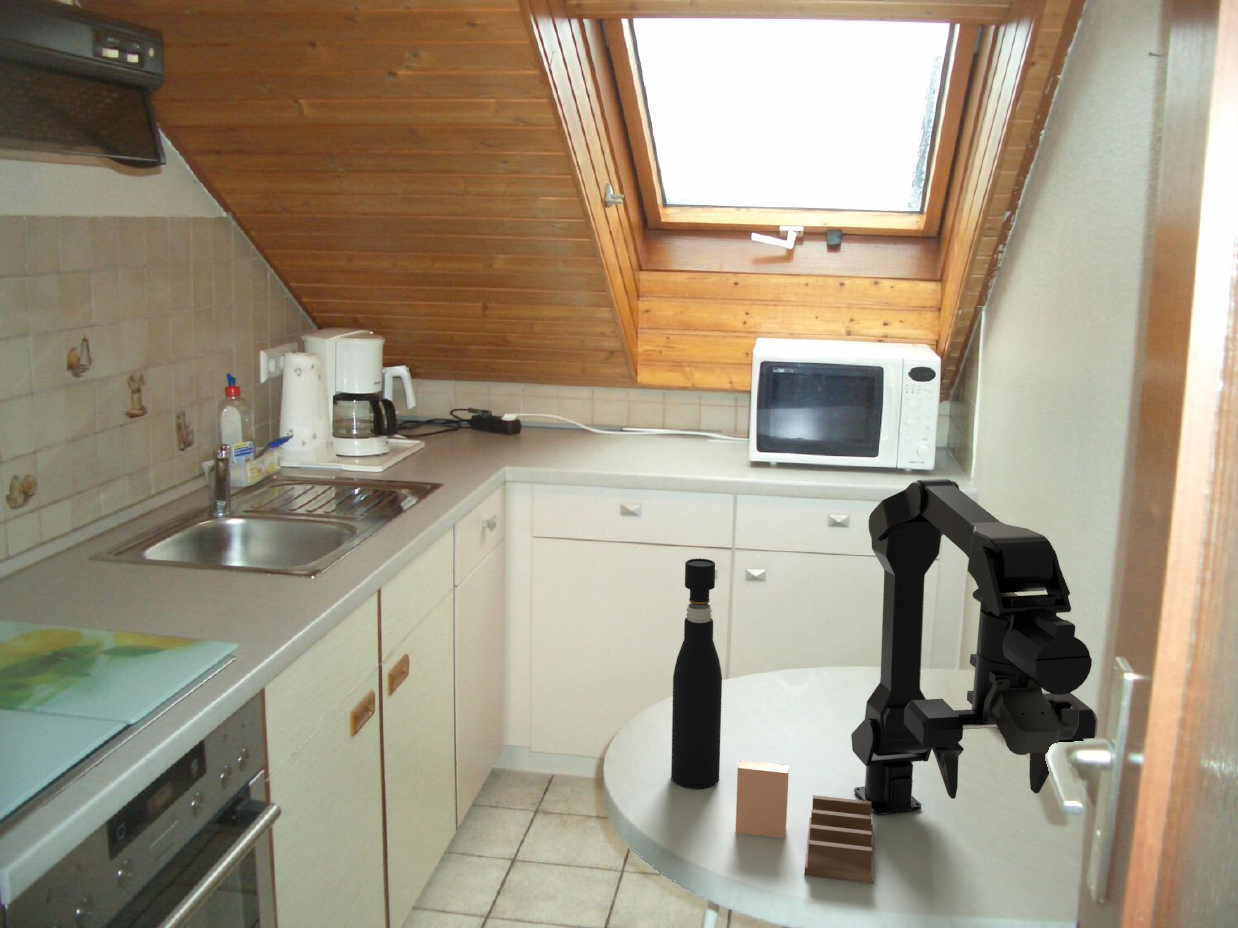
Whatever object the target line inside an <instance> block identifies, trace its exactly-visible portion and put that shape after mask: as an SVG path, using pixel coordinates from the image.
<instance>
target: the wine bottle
mask: <svg viewBox="0 0 1238 928" xmlns="http://www.w3.org/2000/svg"><path fill="white" fill-rule="evenodd" d="M715 583H716V563H715V561H714V560H711V559H708V558H691V559H688V560H686V561H685V562H684V587H685V588H686V589H687V590H689V599H688V602H690V603H689V604H687V607H686V614H685V615H686V617H685V619H684V622H683V623H684V627H683V629H684V631H683V633H684V634H683V641H682V644H681V646H680V649H679V652H678V654H677V657H676V661H675V665H674V670H673V676H672V711H671V712H672V713H671V716H672V718H671V721H672V723H671V726H672V727H671V770H670V771H671V773H670V774H671V775H670V777H671V779H672V782H674V784H676V785H677V786H680V787H683V788H686V789H694V790H701V789H702V790H703V789H708V788H711V787H713V786H715V785H716V784H717V783H719V780H720V768H721V767H720V763H721V761H720V760H721V732H722V731H721V730H722V729H721V728H722V727H721V725H722V693H723V691H722V690H723V675H722V667H721V662H720V658H719V654H718V652H717V648H716V644H715V641H714V619H713V618H712V616H713V614H712V611H713V609H712V606H711V604H710V591H711V590H714V589H715V586H716V585H715Z"/></svg>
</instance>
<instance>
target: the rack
mask: <svg viewBox="0 0 1238 928" xmlns="http://www.w3.org/2000/svg"><path fill="white" fill-rule="evenodd" d="M811 808H812V809H811V813H810V817H809V819H808V820H809V821H808V831H807V841H806V852H805V859H804V860H805V863H804V872H803V873H804V875H803V876H806V877H816V878H821V879H822V878H823V879H831V880H838V881H839V880H840V881H845V882H846V881H847V882H855V883H864V884H874V836H873V835H874V828H873V827H874V825H873V824H872V820H873V819H872V810H871V801H863V800H861V799H853V798H852V799H851V798H843V797H834V796H824V795H816V794H815V795H814V794H813V795H812V807H811Z"/></svg>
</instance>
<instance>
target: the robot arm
mask: <svg viewBox="0 0 1238 928" xmlns="http://www.w3.org/2000/svg"><path fill="white" fill-rule="evenodd" d="M868 533H869V536H870V538H871V540H870V541H871V550H872V551H873V554H875V557H876V558H877V560H878V562H879V563H880V565H881V567H882V568H883V593H882V594H883V601H882V622H881V623H882V624H881V625H882V627H881V628H882V629H881V654H880V655H881V657H880V677H879V679H880V680H879V683H878V685H877V686H876V688H875V689H874V690H873V692H872V694H871V695H870V696H869V698H868V699H867V701H866V705H865V711H864V712H865V714H864V720H862V721H861V723H860V724H859V725H858V726H857V727H856V728H855V729H854V731H852V733H851V736H850V737H851V749H852V752H853V753H854V754H855V755H856V757H857V758H858V759H859V760H860V761H861V763H862V764H863V765H864V766H865V779H864V780H865V781H864V786H863V785H862V786H858V787H854V788H853V792H854V794H855V795H856V796H857V797H858V798H859V800H863V801H871V812H873V813H874V814H875V813H876V814H875V815H885V813H886V814H894V813H898V812H899V813H900V812H907V811H916V810H921V809H922V803H921V802H919V800H918V799H916V798H915V797H914V796H913V793H912V792H913V781H914V780H913V773H914V764H913V763H914V762H928V761H929V759H930V756H931V752H933V754H934V758H935V760H936V762H937V763H936V764H937V765H938V769H939V772H940V775H941V778H942V781H943V783H944V784H943V785H944V787H945V790H946V793H947V796H949V798H951V800H955V799H956V796H957V791H958V781H959V777H958V776H959V756H960V755H961V754H962V753H963V752H964V750H965V749H964V747H963V746H962V745H961V744H960V743H959V742H960V741H962V739H963V737H964V730H974V729H975V730H977V729H994V728H995V729H997V728H998V730H999V732H1000V734H1001V737H1003V739H1004V741H1005V745H1006V747H1007V749H1008V750H1009V751H1010V752H1012V753H1013V754H1015V755H1018V756H1026V755H1029V771H1028V772H1029V774H1028V775H1029V786H1030V787H1029V788H1030V790H1031V791H1032V792H1033V793H1034V794H1039V793H1040V792H1041V790H1042V788H1043V787H1044V785H1045V783H1046V781H1047V779H1048V777H1049V775H1050V774H1049V771H1048V767H1047V764H1046V761H1045V754H1046V753H1047V752H1048V750H1049V747H1050V746H1051V745H1052V744H1054V743H1058V742H1074V741H1084V742H1085V740H1089V739H1095V738H1096V737H1097V734H1098V725H1099V724H1098V723H1099V719H1098V717H1097V714H1096V712H1095V711H1094V710H1093V709H1092V708H1091V707H1090V706H1088V705H1087V704H1085V702H1084V701H1082V700H1081V699H1080V698H1078V697H1077V696H1075V695H1074V694H1073V693H1072V692H1075V690H1077V689H1079V688H1080V687H1081V686H1082V685H1083V684H1085V682H1086V680H1087V678H1088V677H1089V674H1090V673H1091V669H1092V666H1093V665H1092V664H1093V659H1092V657H1091V654H1090V650H1089V649H1088V647H1087V645H1086V644H1085V643H1084V642H1083V641H1082V640H1080V639H1079V638H1078V637H1076V636H1075V634H1076V626H1075V624H1074V623H1073V622H1071V621H1069V620H1067V619H1063V618H1061V617H1059V616H1058V615H1057V614H1062V613H1064V614H1065V613H1071V611H1072V606H1071V602H1070V599H1069V596H1070V595H1071V592H1070V589H1069V587H1068V584H1067V582H1066V579H1065V577H1064V574H1063V571H1062V570H1061V565H1060V563H1059V559H1058V556H1057V552H1056V550H1055V549H1054V547H1053V545H1052V543H1051V542H1050V540H1049V539H1048V538H1047V537H1046V536H1045V535H1043V534H1042V533H1039V532H1036V531H1035V530H1032V529H1029V528H1025V527H1021V526H1015V525H1011V524H1006V523H1004V522H1002V521H1000V520H999V519H997V518H996V516H993V515H992V514H991V513H990V512H989V511H987V510H986V509H985V508H983V506H981V505H980V504H978V502H976V501H975V500H973V498H971V497H970V496H968V495H967V494H966V493H965V492H963V491H962V490H961V489H960V486H959V484H958V483H957V482H956V481H954V480H951V479H948V478H937V479H936V478H935V479H934V478H933V479H930V478H929V479H917V480H916V481H912V483H910V484H909V485H908V486H907V487H906V488H905V489H903V490H902V491H900V492H897V493H895V494H893V495H890V496H889V497H886V498H884V499H883V500H881V502H879V504H878V505H877V506H876V507H875V508H874V509H873V510H872V511H871V512H870V515H869V517H868ZM943 535H944V536H945V537H946V538H948V539H949V541H951V542H952V543H953V544H954V545H955V546H956V547H957V548H958V549H959V550H961V552H963V553H964V554H965V555H966V557H967V558H968V564H967V572H968V573H969V574H970V576H971V578H972V579H973V580H974V582H975V583H976V585H977V588H976V589H975V590H974V591H973V592H972V597H973V599H974V600H976V601H977V602H979V603H980V605H979V606H980V608H979V619H978V630H977V631H978V632H977V642H976V643H977V645H976V653H970V655H969V657H970V658H969V664H970V665H971V667H974V676H973V677H974V678H973V690H967V691H966V693H967V694H966V700H967V702H969V704H970V705H971V709H956V710H954V709H953V708H952V707H951V706H950V705H949V703H948V702H947V701H945V700H944V699H943V698H932V699H931V698H930V699H929V698H926V696H925V695H924V693H923V692H922V690H921V677H922V676H921V672H922V671H921V670H922V649H923V625H924V624H923V623H924V621H923V620H924V600H925V599H924V598H925V596H924V595H925V578H926V574H927V573H928V571H929V570H930V568H931V567H932V565H933V563H934V562H935V561H936V559H937V558H938V556H939V555H940V551H941V544H942V543H941V542H942V536H943ZM1044 591H1046V594H1043V593H1042V594H1030V595H1027V594H1025V595H1019V594H1017V593H1028V592H1044ZM1043 690H1044V691H1045V692H1047V693H1043Z"/></svg>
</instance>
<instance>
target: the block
mask: <svg viewBox="0 0 1238 928" xmlns="http://www.w3.org/2000/svg"><path fill="white" fill-rule="evenodd" d="M789 773H790V765H788V764H787V765H786V764H776V763H767V762H757V761H748V760H739V762H738V765H737V779H736V806H735V807H736V809H735V811H736V812H735V833H737V834H738V833H740V834H748V835H755V836H764V837H765V836H766V837H772V838H773V837H774V838H780V839H786V835H787V823H788V822H787V821H788V819H787V817H788V801H789V800H788V799H789V798H788V797H789V794H788V793H789Z"/></svg>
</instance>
